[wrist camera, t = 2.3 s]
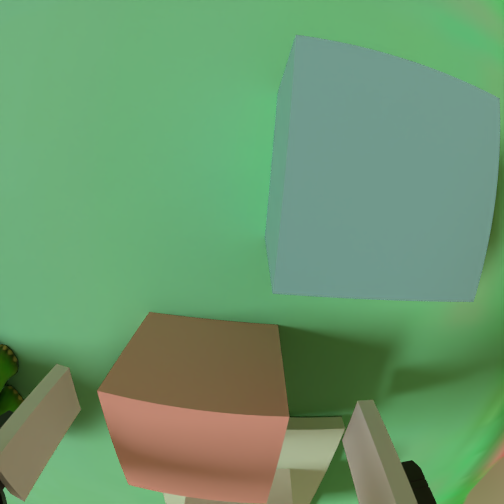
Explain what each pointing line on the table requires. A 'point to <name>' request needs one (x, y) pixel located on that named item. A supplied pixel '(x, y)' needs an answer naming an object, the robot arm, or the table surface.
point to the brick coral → (199, 407)
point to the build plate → (295, 462)
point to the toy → (3, 367)
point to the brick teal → (379, 177)
